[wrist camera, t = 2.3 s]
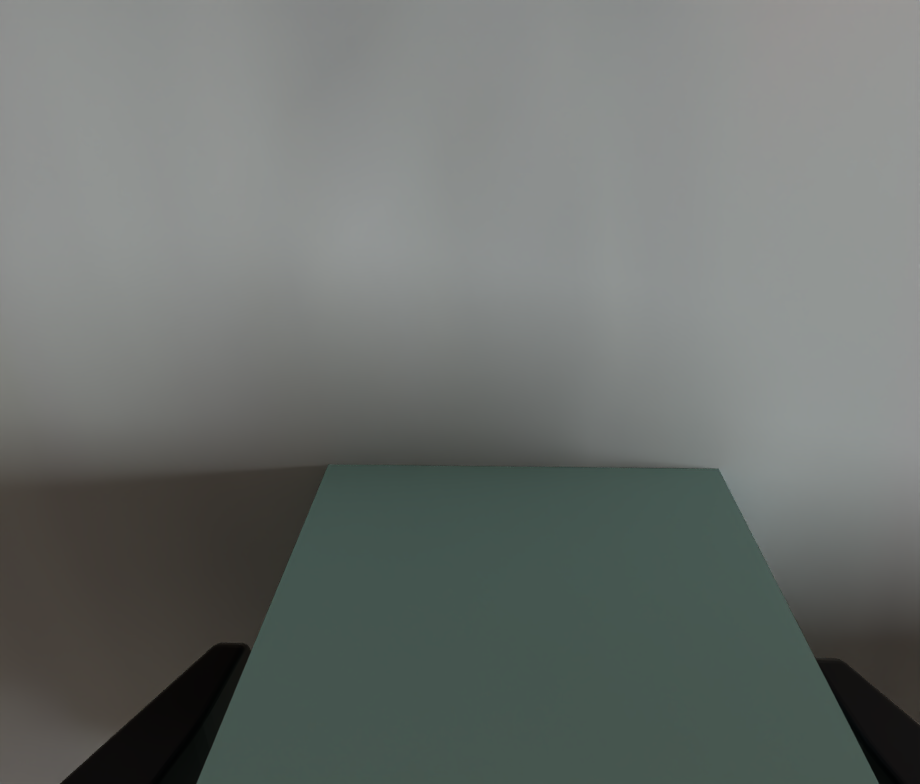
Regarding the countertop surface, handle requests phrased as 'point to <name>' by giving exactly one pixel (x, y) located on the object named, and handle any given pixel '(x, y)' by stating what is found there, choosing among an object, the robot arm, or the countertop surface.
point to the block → (530, 639)
